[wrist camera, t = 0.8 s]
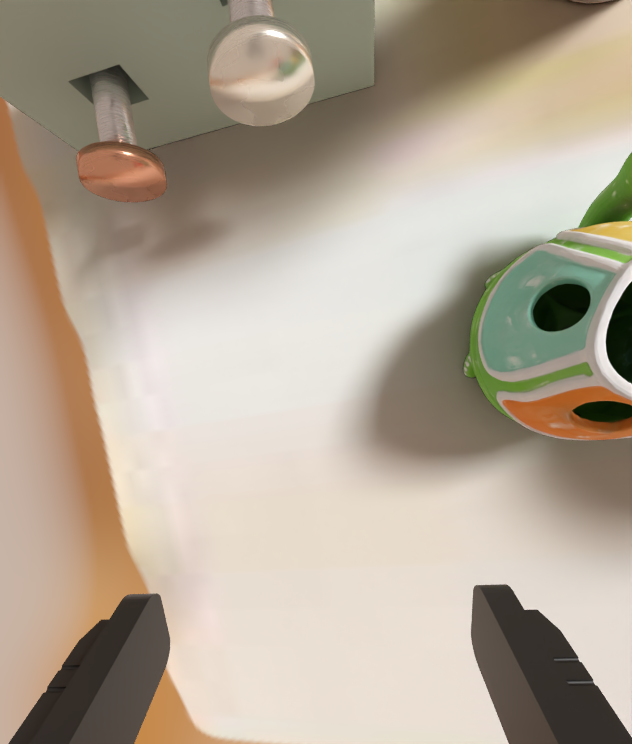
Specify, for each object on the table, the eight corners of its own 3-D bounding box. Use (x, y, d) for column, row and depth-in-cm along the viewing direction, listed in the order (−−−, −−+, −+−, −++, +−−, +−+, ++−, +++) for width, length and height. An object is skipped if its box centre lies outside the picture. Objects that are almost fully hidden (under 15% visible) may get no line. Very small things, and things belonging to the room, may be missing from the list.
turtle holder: (687, 215, 25) (956, 93, 14) (594, 447, 27) (765, 516, 15) (513, 176, 27) (620, 37, 15) (436, 396, 29) (479, 422, 17)
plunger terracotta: (92, 46, 28) (25, -29, 23) (154, 24, 28) (100, -59, 22) (118, 208, 29) (57, 172, 23) (181, 192, 28) (133, 150, 22)
